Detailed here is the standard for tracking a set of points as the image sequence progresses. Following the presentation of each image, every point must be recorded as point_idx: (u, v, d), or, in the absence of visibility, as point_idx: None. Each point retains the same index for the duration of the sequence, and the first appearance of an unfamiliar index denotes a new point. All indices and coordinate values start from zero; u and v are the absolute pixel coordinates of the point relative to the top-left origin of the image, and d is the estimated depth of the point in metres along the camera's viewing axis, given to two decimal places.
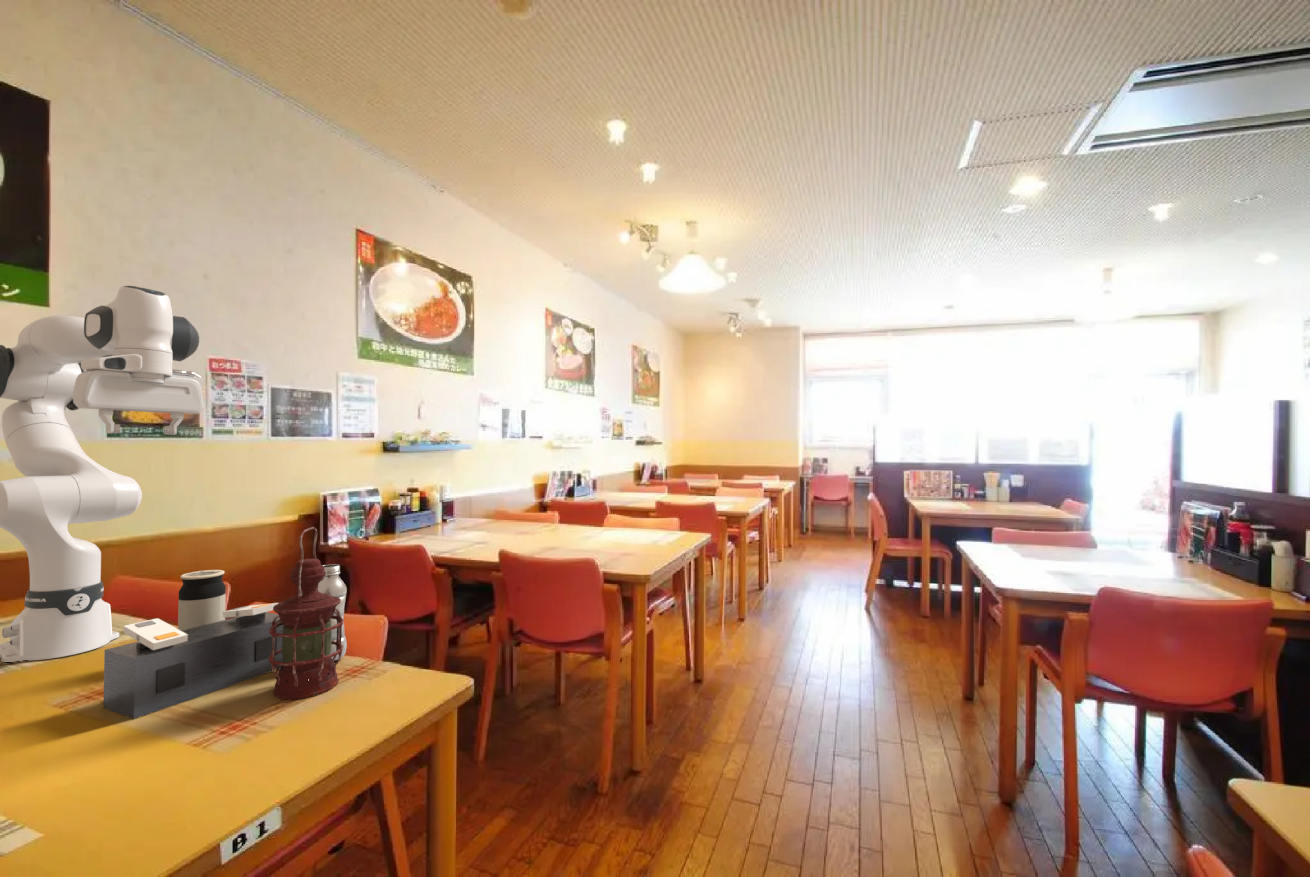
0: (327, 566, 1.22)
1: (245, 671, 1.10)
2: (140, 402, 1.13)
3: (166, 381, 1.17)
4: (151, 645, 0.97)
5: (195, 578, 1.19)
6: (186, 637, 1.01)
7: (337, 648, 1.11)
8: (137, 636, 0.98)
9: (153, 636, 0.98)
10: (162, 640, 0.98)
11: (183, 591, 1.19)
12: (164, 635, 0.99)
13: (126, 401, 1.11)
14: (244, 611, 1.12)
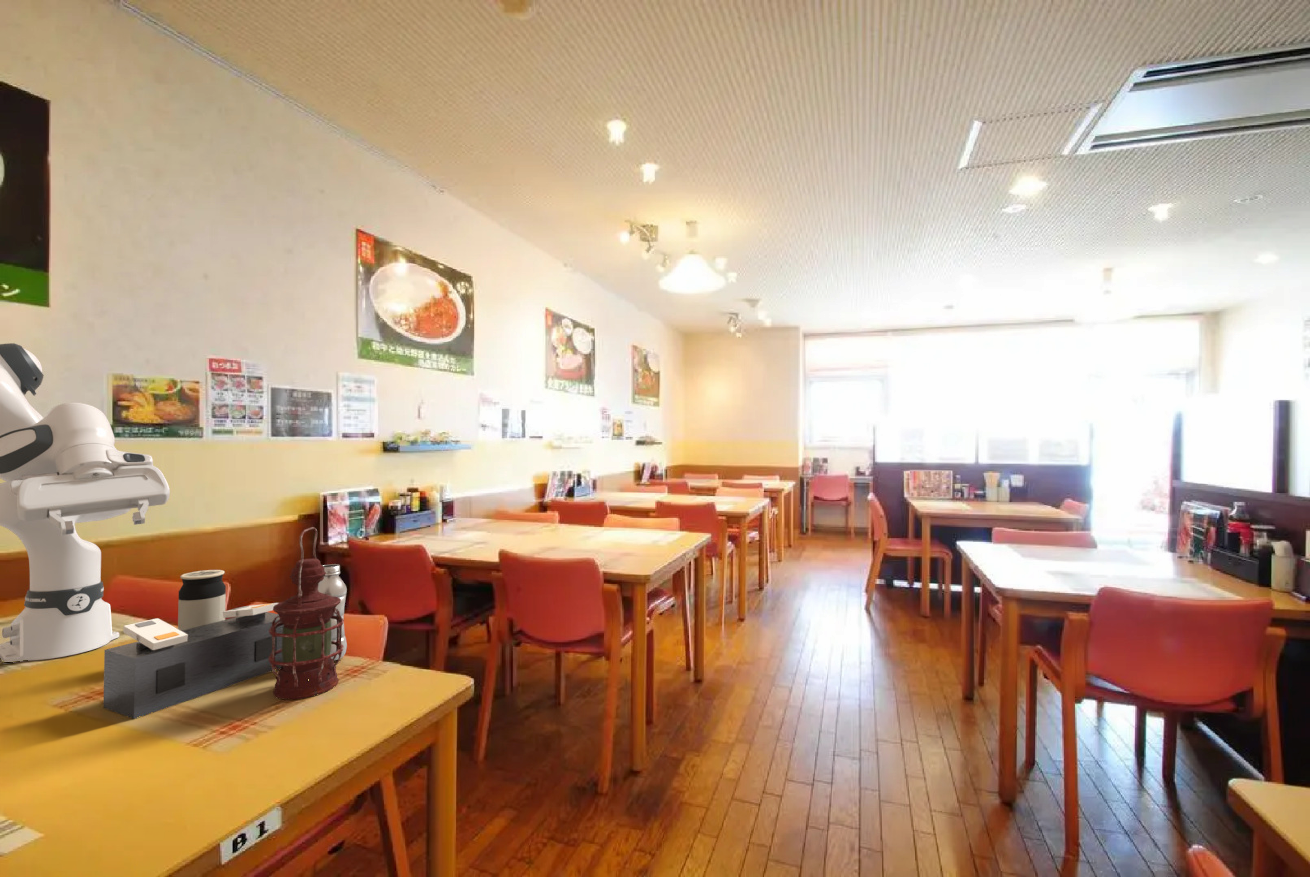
0: (327, 566, 1.22)
1: (245, 671, 1.10)
2: None
3: None
4: (151, 645, 0.97)
5: (195, 578, 1.19)
6: (186, 637, 1.01)
7: (337, 648, 1.11)
8: (137, 636, 0.98)
9: (153, 636, 0.98)
10: (162, 640, 0.98)
11: (183, 591, 1.19)
12: (164, 635, 0.99)
13: None
14: (244, 611, 1.12)
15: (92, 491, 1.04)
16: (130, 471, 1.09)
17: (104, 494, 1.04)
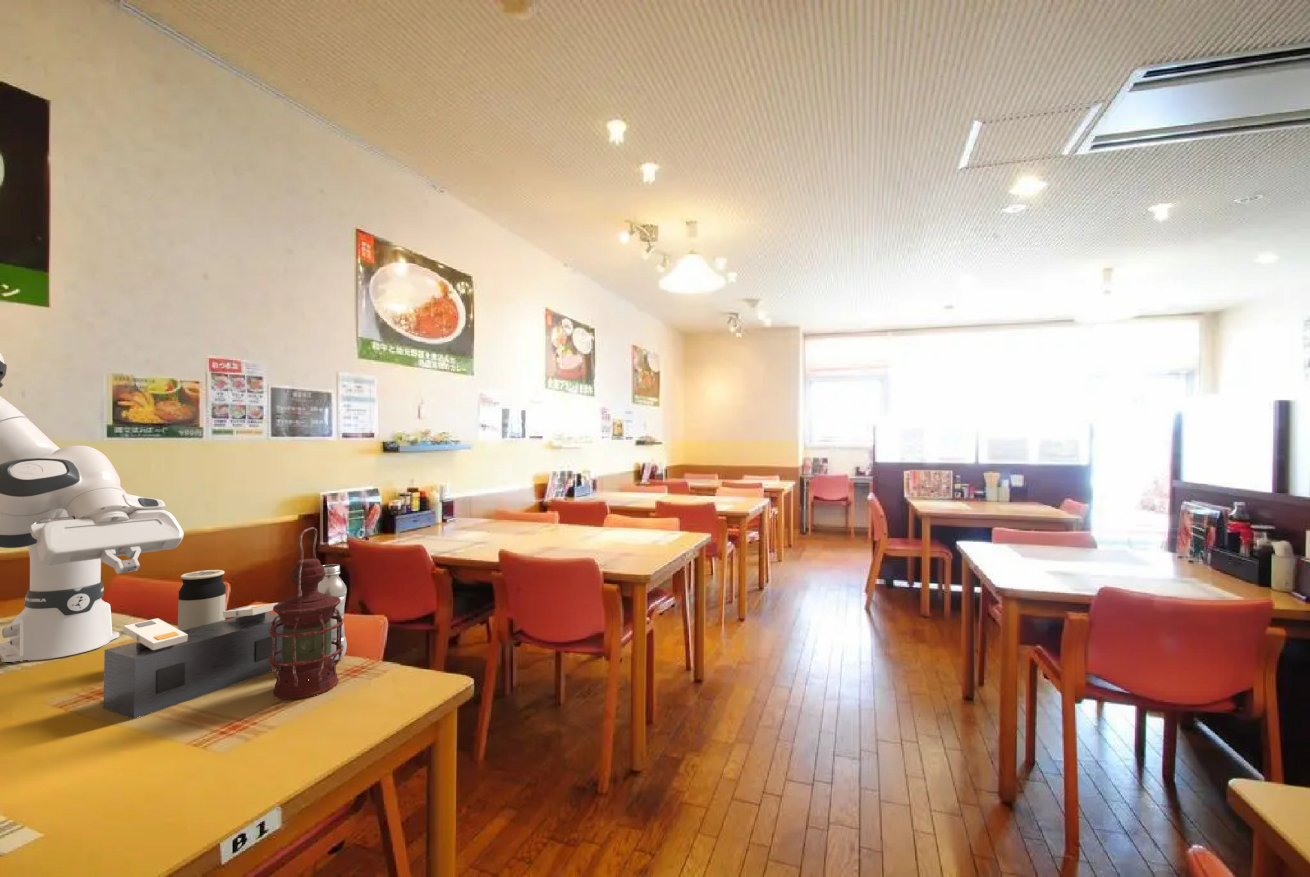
0: (327, 566, 1.22)
1: (245, 671, 1.10)
2: None
3: None
4: (151, 645, 0.97)
5: (195, 578, 1.19)
6: (186, 637, 1.01)
7: (337, 648, 1.11)
8: (137, 636, 0.98)
9: (153, 636, 0.98)
10: (162, 640, 0.98)
11: (183, 591, 1.19)
12: (164, 635, 0.99)
13: None
14: (244, 611, 1.12)
15: (113, 535, 1.05)
16: (145, 515, 1.11)
17: (125, 537, 1.06)
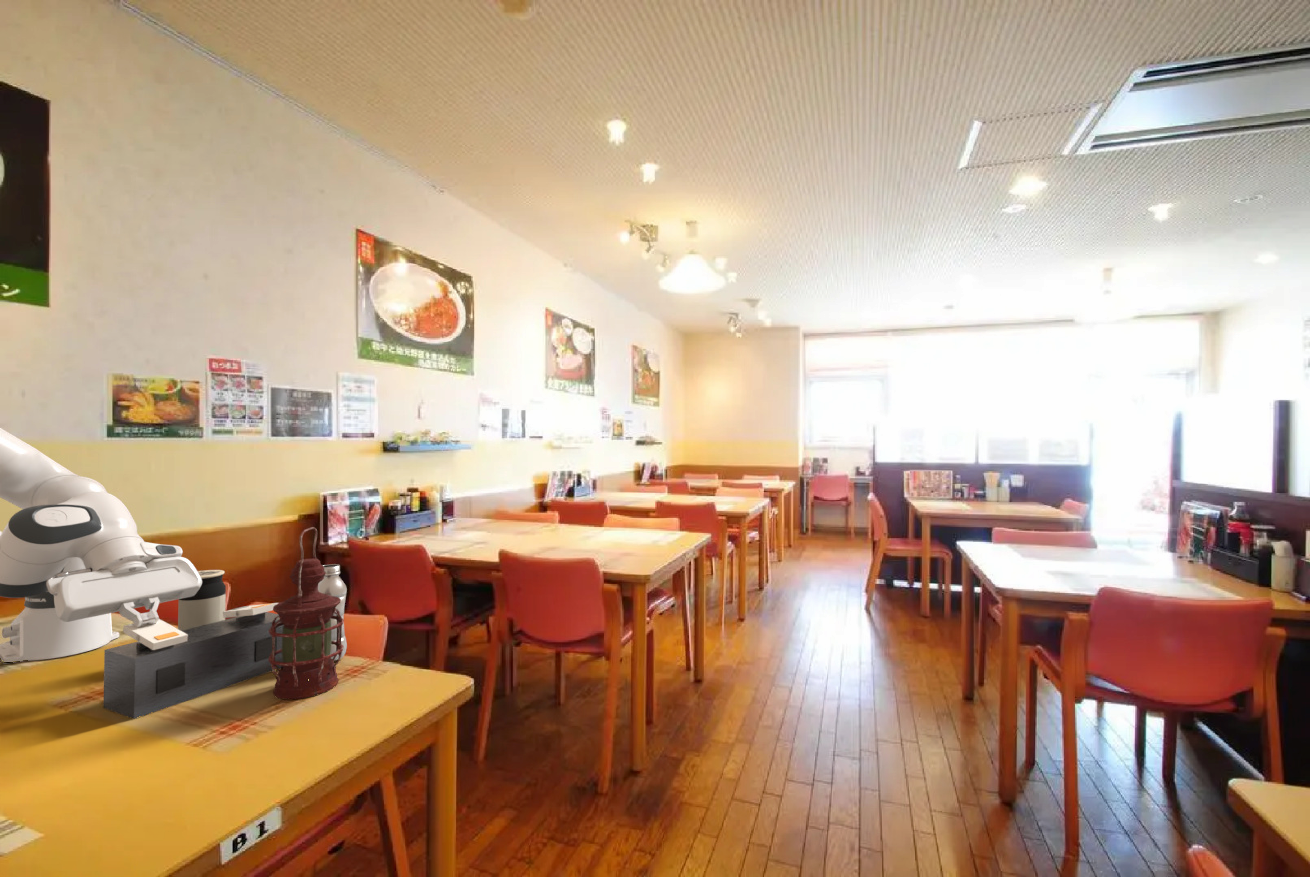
0: (327, 566, 1.22)
1: (245, 671, 1.10)
2: None
3: None
4: (151, 645, 0.97)
5: None
6: (186, 637, 1.01)
7: (337, 648, 1.11)
8: (137, 636, 0.98)
9: (153, 636, 0.98)
10: (162, 640, 0.98)
11: None
12: (164, 635, 0.99)
13: None
14: (244, 611, 1.12)
15: (132, 587, 1.02)
16: (163, 564, 1.09)
17: (144, 588, 1.03)
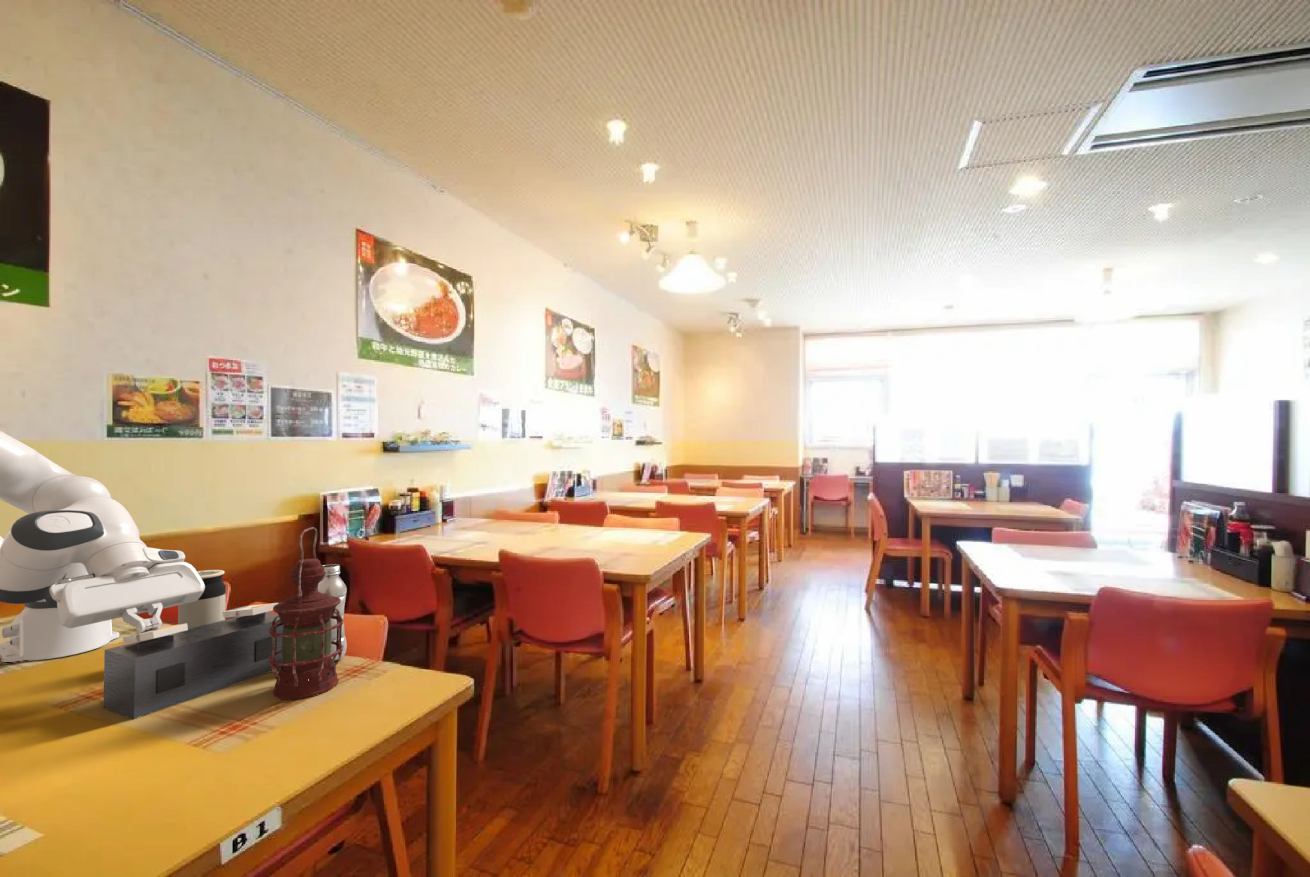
0: (327, 566, 1.22)
1: (245, 671, 1.10)
2: None
3: None
4: (151, 635, 0.97)
5: None
6: (186, 626, 1.01)
7: (337, 648, 1.11)
8: (137, 636, 0.98)
9: (152, 631, 0.99)
10: (161, 629, 0.98)
11: None
12: None
13: None
14: (244, 611, 1.12)
15: (135, 592, 1.02)
16: (166, 569, 1.08)
17: (147, 594, 1.03)
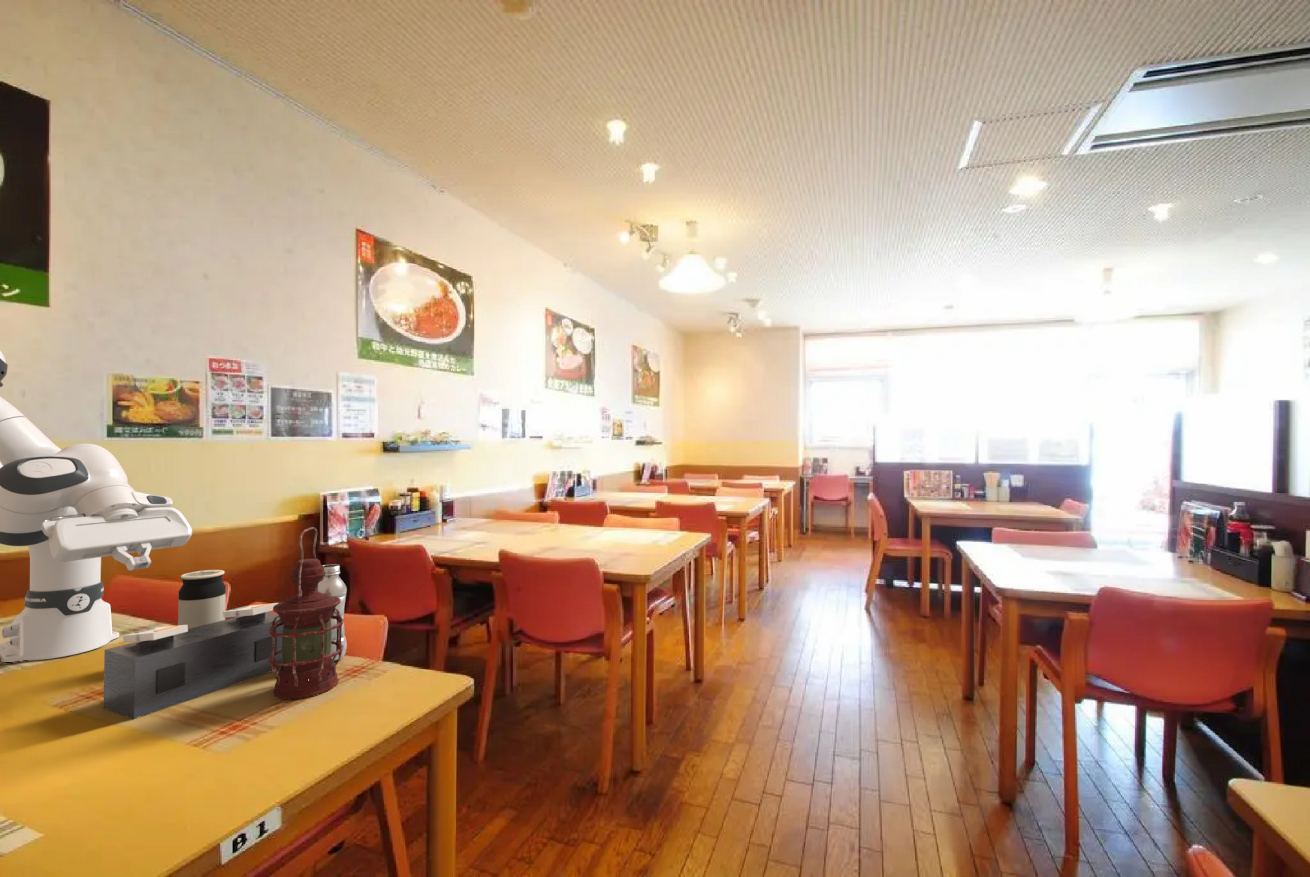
0: (327, 566, 1.22)
1: (245, 671, 1.10)
2: None
3: None
4: (151, 636, 0.97)
5: (195, 578, 1.19)
6: (186, 627, 1.01)
7: (337, 648, 1.11)
8: (137, 636, 0.98)
9: (152, 631, 0.99)
10: (161, 630, 0.98)
11: (183, 591, 1.19)
12: (163, 628, 0.99)
13: None
14: (244, 611, 1.12)
15: (124, 532, 1.06)
16: (154, 513, 1.12)
17: (136, 534, 1.07)
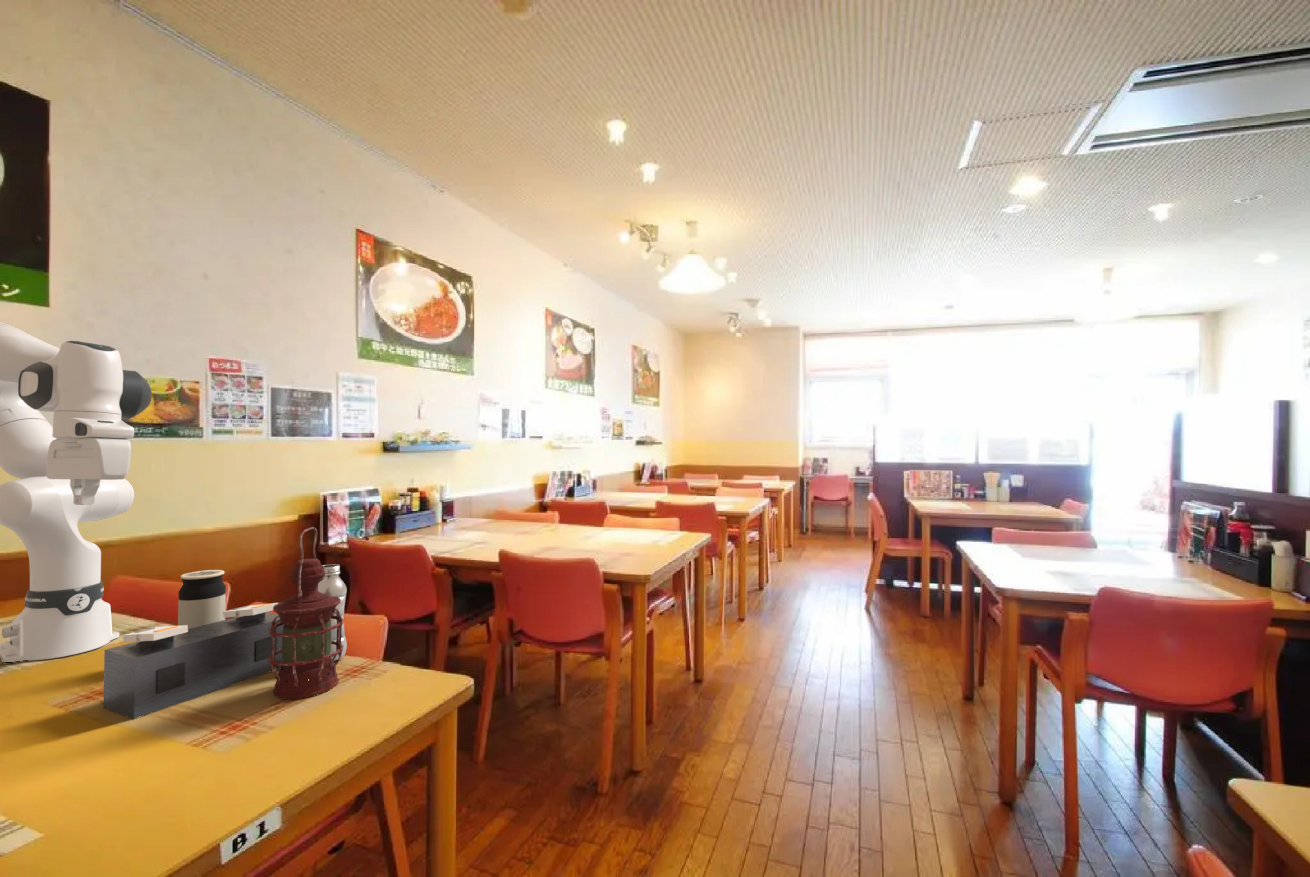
0: (327, 566, 1.22)
1: (245, 671, 1.10)
2: None
3: None
4: (151, 636, 0.97)
5: (195, 578, 1.19)
6: (186, 628, 1.01)
7: (337, 648, 1.11)
8: (137, 636, 0.98)
9: (152, 631, 0.98)
10: (162, 631, 0.98)
11: (183, 591, 1.19)
12: (163, 629, 0.99)
13: None
14: (244, 611, 1.12)
15: (70, 465, 1.02)
16: (84, 445, 0.99)
17: (74, 470, 1.01)
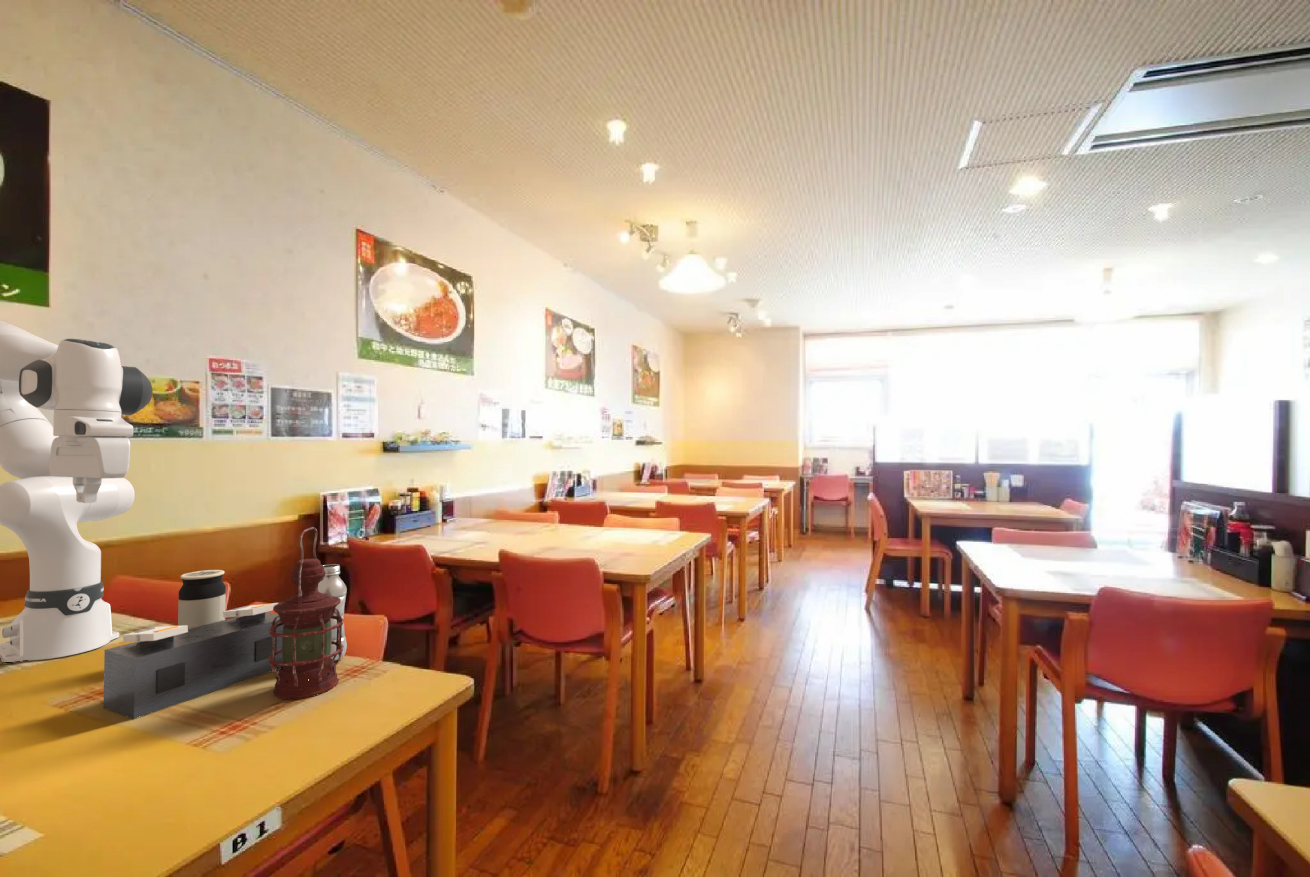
0: (327, 566, 1.22)
1: (245, 671, 1.10)
2: None
3: None
4: (151, 637, 0.97)
5: (195, 578, 1.19)
6: (186, 628, 1.01)
7: (337, 648, 1.11)
8: (137, 636, 0.98)
9: (152, 631, 0.98)
10: (162, 631, 0.98)
11: (183, 592, 1.19)
12: (163, 629, 0.99)
13: None
14: (244, 611, 1.12)
15: (72, 463, 1.02)
16: (84, 443, 1.00)
17: (76, 468, 1.02)
